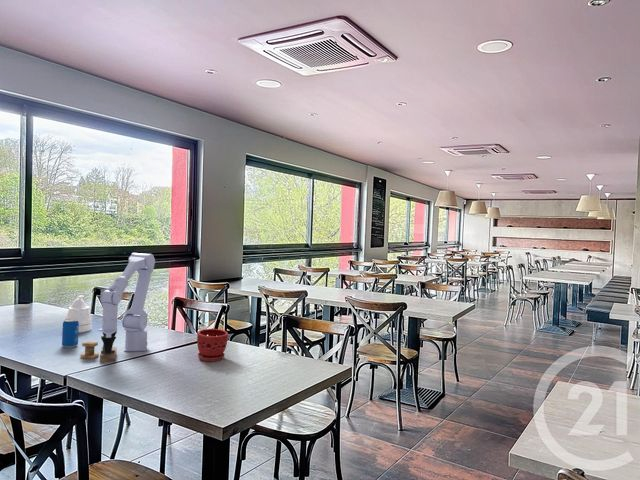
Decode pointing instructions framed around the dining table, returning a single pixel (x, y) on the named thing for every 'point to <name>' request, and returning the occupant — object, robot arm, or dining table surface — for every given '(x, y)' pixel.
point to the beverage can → (70, 333)
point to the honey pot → (80, 314)
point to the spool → (89, 350)
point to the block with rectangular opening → (108, 355)
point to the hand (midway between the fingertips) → (108, 350)
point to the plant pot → (211, 344)
